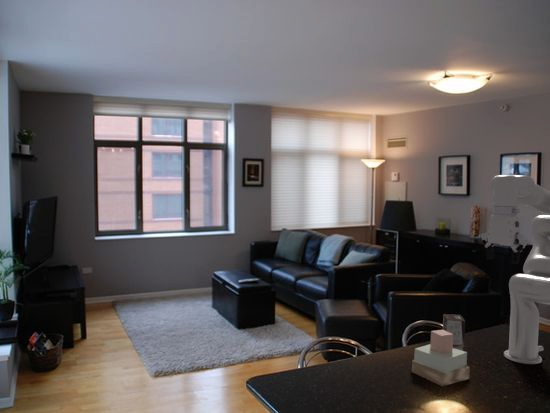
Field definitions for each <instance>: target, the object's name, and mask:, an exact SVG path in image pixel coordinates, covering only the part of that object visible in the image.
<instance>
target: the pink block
mask: <svg viewBox="0 0 550 413" xmlns="http://www.w3.org/2000/svg"><path fill="white" fill-rule="evenodd" d="M429 344H430V349H432V350H434V351H436V352H438V353H440V354H442V353H448V352H452V350H453V334H452V333H449V332H447V331H445V330H443V329H437V330H431V331H430V343H429Z"/></svg>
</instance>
